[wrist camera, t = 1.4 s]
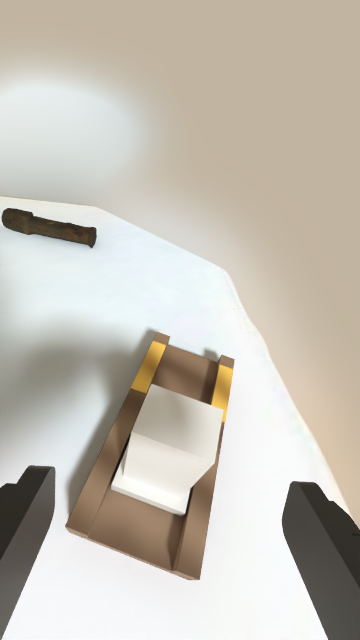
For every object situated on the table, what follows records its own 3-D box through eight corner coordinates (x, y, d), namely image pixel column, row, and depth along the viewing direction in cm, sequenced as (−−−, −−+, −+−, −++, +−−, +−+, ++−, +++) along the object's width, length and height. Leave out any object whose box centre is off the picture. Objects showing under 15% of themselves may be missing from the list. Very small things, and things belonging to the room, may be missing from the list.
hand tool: (98, 241, 60) (98, 222, 57) (92, 250, 58) (92, 230, 54) (11, 222, 59) (6, 201, 56) (1, 230, 56) (-5, 209, 53)
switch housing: (188, 580, 25) (200, 579, 22) (69, 532, 25) (64, 525, 22) (225, 374, 42) (235, 358, 39) (153, 348, 43) (157, 331, 40)
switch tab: (181, 516, 26) (222, 482, 17) (111, 489, 27) (115, 442, 18) (194, 454, 31) (233, 401, 22) (134, 432, 31) (147, 370, 22)
